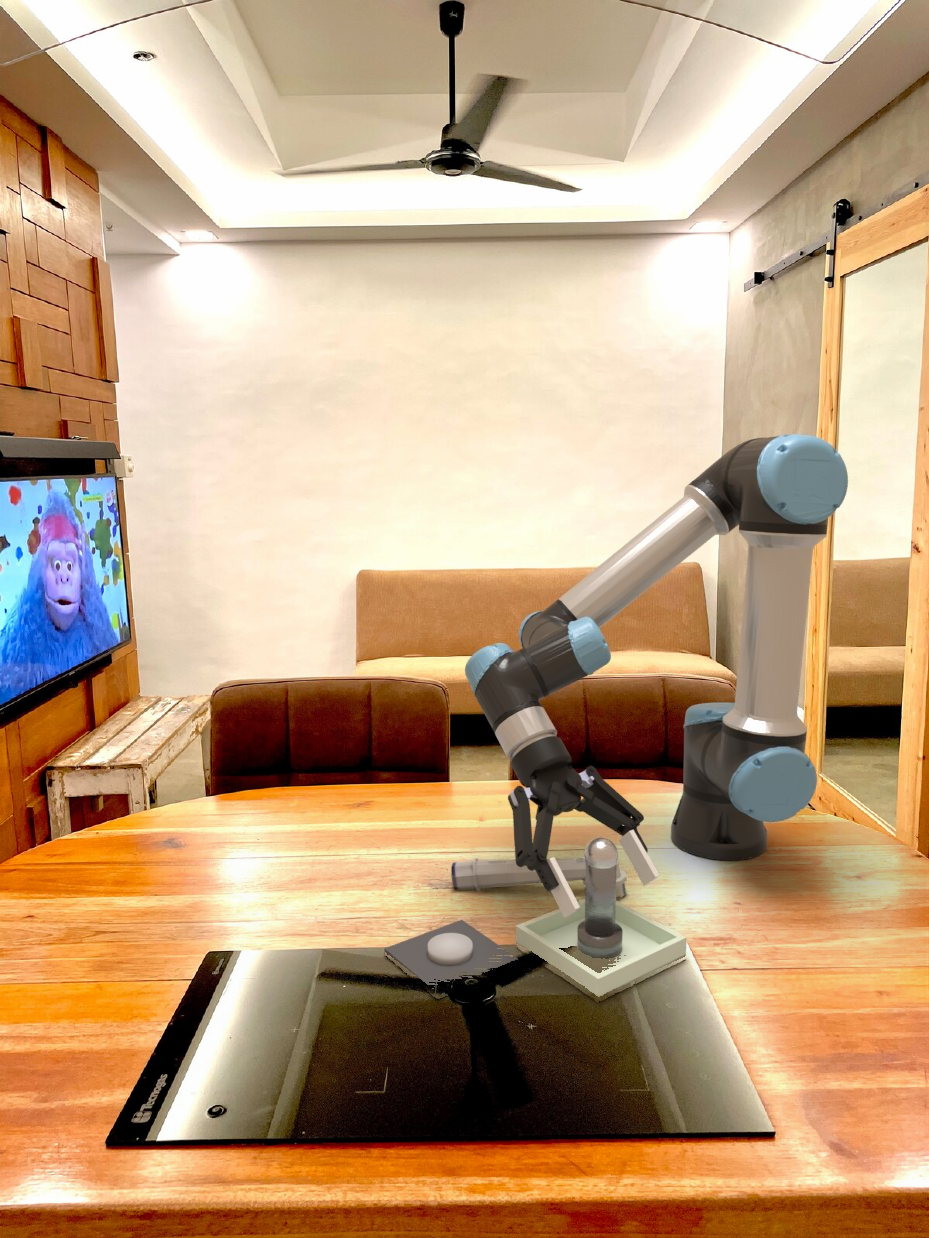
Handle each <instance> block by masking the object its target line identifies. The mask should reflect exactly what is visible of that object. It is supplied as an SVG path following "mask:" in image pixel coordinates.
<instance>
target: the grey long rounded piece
mask: <svg viewBox="0 0 929 1238" xmlns="http://www.w3.org/2000/svg"><path fill="white" fill-rule="evenodd" d="M554 858H555V857H554ZM548 859H549V858H547V860H548ZM555 860H556V862H557V863H558V865H559V867H560V869H561V871H562V873H563V875H564V877H565V879H566V881H567V882H569V881H581V880H582V885H584V886H585V865H586V862H585V859H584V857H558V858H557V857H556V858H555ZM450 868H451V871H450V873H451V883H452V888H453V889H454V890H456V891H458V890H463V891H464V890H476V891H477V892H480V891H481V889H488V888H489V889H491V888H503V887H512V886H524V885H525V886H527V885H535V884H542V882H541V880H540V878H539V876H538V874H537V872H536V870H534V871H531V870H529V869H528V868H527V866H523V867H519V866H517V864H516V860H515V859H487V860H486V859H484V860H483V859H481V860H480V859H478V857H474V859H473V860H468V861H467V860H466V861H456V862H452V865H451V867H450ZM627 881H628V876H627V871H625V870H623V869H621V868H620V865H619V860H618V861H617V864H616V898H617V897H618V898H623V897H624V896H625V895H627V892H626V891H627V890H626V885H625V884H626V882H627Z"/></svg>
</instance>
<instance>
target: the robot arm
mask: <svg viewBox="0 0 929 1238" xmlns="http://www.w3.org/2000/svg"><path fill="white" fill-rule="evenodd" d="M848 487H849V476H848V470H847V467H846V464H845V461H844V459H843V457H842V455H841V454H840V453H839V452H838V451H837V449H836V448H835V447H834V446H833V445H832V444H831V443H829V442H828V441H826V440H825V439H822V438H821V437H817V436H814V435H808V434H798V433H793V434H782V435H776V436H769V437H758V438H751V439H748V440H745V441H742V442H741V443H739V444H737V445H736V446H735V447H733V448H731V449H729V450H728V451H727V452H725V453H724V454H723V455H722V456H721V457H720V458H718V459H717V460H716V461H715V462H714V463H712V464H711V465H710V466H708V468H706V469H705V470H704V471H703V472H701V473H700V474H699V475H698V476H697V477H696V478H695V479H693V480H692V481H691V482H689V484H687V485H686V486H685V487H684V491H683V497H682V498H681V499H679V500H678V501H677V502H676V503H674V504H673V505H672V506H671V507H669V509H667V510H666V511H664V512H663V513H662V514H661V515H660V516H658V517H657V518H656V519H654V521H653V522H651V523H649V525H647V526H646V527H645V528H644V529H642V530H641V531H640V532H639V533H638V534H636V535H635V536H634V537H632V538H631V539H630V540H629V541H628V542H627V543H625V544H624V545H623V546H622V547H619V549H618V550H617V551H615V552H614V553H613V554H612V555H611V556H610V557H608V558H607V559H606V560H604V561H603V562H602V563H600V565H598V566H597V567H596V568H594V569H593V570H592V571H590V573H589V574H587V575H586V576H585V577H584V578H583V579H581V580H580V581H578V583H576V584H575V585H574V586H572V587H571V588H570V589H569V590H568V591H566V592H565V593H564V594H562V596H560V597H559V598H558V599H557V600H556V601H554V602H553V603H552V604H550V605H549V606H548V607H546V608H545V609H543V610H540V611H535V612H532V613H530V614H529V615H527V616H526V617H525V618H524V619H523V620H522V621H521V623H520V627H519V630H518V640H519V643H520V645H521V648H520V649H518V650H515V651H514V650H513V649H512V648H511V647H510V646H509V645H508V644H506V643H502V642H498V643H494V644H492V645H487V646H484V647H482V648H481V649H479V650H477V651H475V652H474V653H473V654H472V655H471V656H470V657H469V659H468V660H467V662H465V663H466V664H465V666H464V672H465V673H464V674H465V676H466V680H467V681H468V684H469V685H470V687H471V690H472V692H473V695H474V697H475V699H476V700H477V701H476V702H478V704H479V706H480V708H481V710H482V711H483V714H484V715H485V717H486V719H487V721H488V723H489V725H490V726H491V729H492V730H493V733H494V734H495V737H496V738H497V740H498V742H499V744H500V746H501V747H502V750H503V752H504V754H505V756H506V757H507V759H508V760H511V763H510V765H511V768H512V769H513V771H514V773H515V775H516V777H517V779H518V782H519V784H520V785H517V786H516V787H514V789H513V790H512V791H511V792H510V793H509V794H508V796H507V800H508V803H509V806H510V808H511V810H512V821H513V822H512V823H513V840H514V841H513V842H514V856H515V857H514V858H515V860H516V864H517V866H519V867H523V866H527V868H528V869H529V870H531V871H534V870H536V872H537V874H538V876H539V878H540V880H541V882H542V883H541V884H542V887H543V888H544V889H545V891H546V892H551V895H552V896H553V898H554V900H555V902H556V904H557V907H558V909H560V910H561V912H562V914H563V916H564V918H565V917H568V916H570V915H571V914H572V913H573V912H575V911H576V910H577V909H578V908H580V906H579V904H578V902H577V901H578V900H577V898H576V897H575V894H574V892H573V890H572V888H571V887H570V885H569V883H568V881H566V879H565V877H564V875H563V873H562V871H561V869H560V867H559V865H558V863H557V862H556V860H555V856H553V857H550V858H548V855H549V849H550V848H549V847H550V842H551V836H552V835H551V834H552V828H553V823H554V822H553V821H554V817H556V816H560V815H561V814H562V813H569V812H573V811H574V810H576V811H577V812H579V813H585V814H586V815H588V816H590V818H593V819H595V820H596V821H598V822H599V823H601V824H602V825H604V826H605V827H607V828H608V829H610V830H612V831H613V832H615V833H617V834H619V835H621V837H620V838H619V839H618V842H619V843H620V845H621V848H622V850H623V851H624V853H625V854H626V856H627V858H628V860H629V861H630V863H631V865H632V868H633V869H634V871H635V873H636V874H637V877H638V878H639V879H640V881H641V883H642V884H643V886H644V887H645V886H647V885H649V884H651V882H653V881H654V880H656V879H657V878H658V877H659V876H660V874H659V872H658V871H657V869H656V867H655V865H654V863H653V861H652V859H651V857H650V856H649V855H648V853H649V850H648V846H647V845H646V843H645V842H644V840H643V838H642V836H641V835H640V833H639V831H638V827H639V826H640V825H641V823H642V822H643V821H644V819H645V817H644V815H643V813H641V811H639V809H637V808H636V807H635V806H634V805H633V804H631V803H630V802H629V801H628V800H626V798H625V797H623V795H621V794H620V793H619V792H618V791H617V790H615V789H614V788H613V787H612V786H611V785H610V784H609V783H608V782H606V780H604V779H603V778H602V776H601V774H600V773H599V772H598V770H597V769H596V768H595V767H594V766H593V765H589V766H588V767H586V769H585V770H583V771H581V772H579V773H578V772H577V771H576V770H575V769H574V768H573V764H572V756H571V755H570V753H569V751H568V750H567V748H566V746H565V744H564V742H563V741H562V739H561V737H560V736H559V737H558V736H557V734H558V730H557V729H556V727H555V726H554V724H553V723H552V720H551V719H550V717H549V715H548V714H547V712H546V710H545V708H544V706H543V705H542V703H541V701H540V700H542V699H544V698H546V697H549V696H551V695H552V694H553V693H557V692H558V691H559V690H562V689H564V688H566V687H568V686H570V685H572V684H574V683H575V682H578V681H580V680H582V679H584V678H586V677H587V676H592V675H593V674H595V672H597V671H599V670H600V669H603V667H605V666H606V665H608V664H609V662H611V658H612V655H611V653H612V652H611V649H610V648H609V644H608V642H607V640H606V637H605V636H604V634H603V632H602V631H601V629H600V628H601V627H603V626H604V625H606V624H607V623H608V622H609V621H610V620H612V619H613V618H614V617H616V616H617V615H618V614H619V613H620V612H622V611H623V610H624V609H625V608H627V607H628V606H630V604H632V603H633V602H635V601H636V599H638V598H639V597H640V596H642V595H643V594H644V593H645V592H647V591H648V590H649V589H650V588H651V587H653V586H654V585H655V584H656V583H658V582H659V581H660V580H661V579H663V578H664V577H665V576H666V575H667V574H669V573H671V571H672V570H673V569H675V568H676V567H677V566H679V565H680V564H681V563H682V562H684V561H685V560H687V558H689V557H690V556H691V555H692V554H694V553H695V552H696V551H697V550H698V549H700V548H701V547H703V546H704V545H705V544H706V543H707V542H708V541H709V540H711V539H712V538H714V536H717V535H718V536H726V535H727V534H729V533H730V532H732V531H733V530H734V529H735V528H737V527H738V533H739V535H741V536H742V537H743V539H744V540H745V541H746V542H747V544H748V547H747V548H748V549H747V557H746V558H747V559H746V571H745V583H744V592H743V605H742V616H741V617H742V618H741V627H740V628H741V629H740V638H739V650H738V663H737V675H736V684H735V685H736V686H735V687H736V688H735V700H734V702H705V703H698V704H694V705H693V704H692V705H691V706H689V707H688V708H687V709H686V711H685V717H684V724H683V731H684V732H683V775H682V776H683V777H682V779H683V783H682V785H683V787H682V788H683V789H682V794H681V796H680V800H679V803H678V805H677V808H676V811H675V814H674V816H673V819H672V821H671V825H670V826H671V827H670V839H671V842H672V843H673V844H674V845H675V846H676V847H678V848H679V849H681V850H682V851H685V852H687V853H689V854H692V855H695V856H698V857H702V858H708V859H713V860H720V861H739V860H740V861H741V860H747V859H752V858H755V857H758V856H759V855H761V854H763V853H764V852H765V851H766V850H767V848H768V831H767V829H766V825H765V823H778V822H782V821H785V820H786V821H787V820H789V819H791V818H793V817H795V816H796V815H797V813H799V812H800V811H801V810H804V809H805V808H806V807H807V806H808V805H809V803H810V802H811V800H812V799H813V797H814V795H815V792H816V789H817V785H818V784H817V783H818V776H817V775H818V774H817V770H816V767H815V765H814V763H813V762H812V760H811V758H810V757H809V756H808V755H807V753H805V752H806V751H805V750H806V744H807V743H806V742H807V733H808V726H807V725H806V723H804V722H803V721H802V719H801V718H800V717H799V715H798V705H799V695H800V685H801V678H802V677H801V676H802V664H803V655H804V646H805V645H804V644H805V637H806V636H805V635H806V625H807V617H808V616H807V614H808V606H809V605H808V604H809V596H810V595H809V594H810V585H811V574H812V563H813V555H814V554H813V553H814V548H815V547H816V545H818V544H820V542H822V540H824V539H825V538H826V537H827V534H828V525H829V518H830V517H831V516H832V515H834V513H835V512H836V511H837V509H839V508H840V507H841V506H842V504H843V502H844V500H845V497H846V495H847V492H848ZM530 801H531V802H532V803H533V804H535V805H536V806H537V807H536V814H535V820H536V822H535V828H534V834H533V833H532V832H533V831H532V830H533V829H532V819H531V818H532V817H531V804H530ZM764 822H765V823H764ZM547 859H548V860H547Z"/></svg>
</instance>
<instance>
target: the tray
mask: <svg viewBox="0 0 929 1238" xmlns="http://www.w3.org/2000/svg"><path fill="white" fill-rule="evenodd" d="M577 902H578V904H579V906H580V908H578V909H577V910H576V911H575V912H573V913H572V914H571V915H570V916H568V917H565V918H564V916H563V914H562V912H561V910H560V908H557V909H554V910H552V911H550V912H547V913H545V914H542V915H539V916H537V917H535V918H532V919H529V920H527V921H524V922H522V923H519V924H517V925H515V945H516V944H518V945H520V946H522V947H524V948H527V949H528V950H529V951H532V952H533V953H534V954H536V955H538V956H539V957H540V958H542V959H544V960H545V961H547V962H548V963H549V964H551V965H553V966H555V967H556V968H558V969H559V970H561V972H564V973H565V974H566V975H568V976H570V977H571V978H572V979H574V980H575V981H576V982H578V983H579V984H581V985H583V986H585V988H587V989H588V990H589V991H590V992H592V993H594V994H595V995H596V996H598V997H600V996H603V995H604V994H606V993H607V992H610V991H612V990H613V989H616V988H619V987H621V986H623V985H626V984H628V983H630V982H633V981H634V980H636V979H639V978H640V977H642V976H643V975H647V974H648V973H650V972H654V971H655V970H657V969H659V968H662V967H663V966H666V965H669V964H671V963H672V962H674V961H677V960H679V959H681V958H683V957H685V956H686V957H687V937H686V936H684V935H682V934H681V933H678V932H677V931H675V930H673V929H671V928H669V927H667V926H665V925H663V924H661V923H660V922H658V921H656V920H654V919H652V918H650V917H648V916H646V915H645V914H643V913H641V912H639V911H637V910H635V909H633V908H632V907H630V906H628V905H626V904H624V903H621V902H620V901H618V900H616V917H615V923H617V924H618V925H619V926H620V927H621V928H622V931H623V932H622V952H621V954H620V955H621V956H619V958H621V959H619V960H617V957H618V956H617V957H615V958H616V959H615V960H614V961H616V963H613V964H608V965H616V966H613V967H608V968H609V969H607V970H605V969H604V970H605V971H604V970H602V972H601V973H597V972H595V971H594V970H592V969H591V968H589V967H588V966H586V965H584V964H583V963H581V962H580V961H578V960H577V959H575V958H574V957H572V956H570V955H569V954H567V953H566V952H564V951H563V950H561V949H559V948H568V947H570V946H577V930H578V925H579V924H580V923H581V922H583V921H585V898H583V899H580V900H577ZM624 955H626V956H624ZM609 961H610V960H609ZM617 961H619V962H617ZM602 968H607V967H602Z"/></svg>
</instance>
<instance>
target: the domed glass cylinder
mask: <svg viewBox="0 0 929 1238" xmlns="http://www.w3.org/2000/svg"><path fill="white" fill-rule="evenodd" d="M583 858H584V859H585V862H586V865H585V885H584V899H585V921H583V922H581V923H580V924H579V925H578V930H577V947H578V949H579V950H580V951H581V952H582V953H584V954H586V955H589V956H591V957H592V958H601V959H603V958H605V959H609V958H615V957H616V956H618V955H620V954H621V952H622V932H623V931H622V928H621V927H620V926H619V925H618V924H617V923H615V917H616V901H617V897H616V864H617V861H618V862H619V851H618V849H617V846H616V845H615V843H613V842H612V840H610V839H608V838H605V837H595V838H593V839H591V840H590V841H589V842H588V843H587V844H586V846H585V847H584V852H583Z"/></svg>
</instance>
